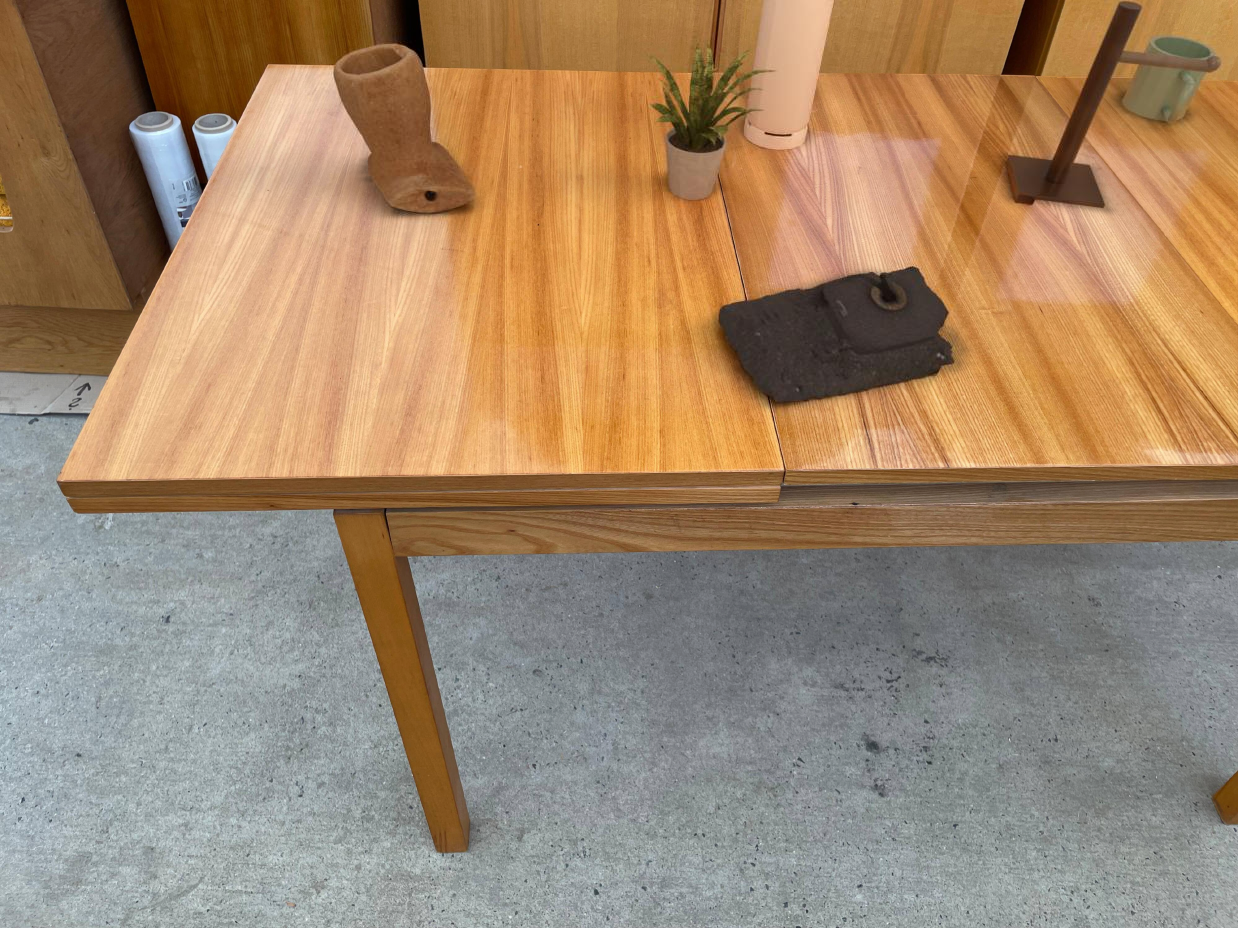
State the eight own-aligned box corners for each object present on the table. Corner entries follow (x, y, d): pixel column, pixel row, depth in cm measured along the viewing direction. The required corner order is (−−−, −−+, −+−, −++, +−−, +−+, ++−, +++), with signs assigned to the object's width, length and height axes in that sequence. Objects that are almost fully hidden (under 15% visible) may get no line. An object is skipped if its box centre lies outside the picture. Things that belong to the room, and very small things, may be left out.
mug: (1114, 97, 129) (1143, 33, 123) (1173, 104, 128) (1205, 39, 122) (1132, 134, 121) (1165, 68, 114) (1195, 142, 120) (1231, 75, 114)
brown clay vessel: (345, 166, 106) (320, 35, 95) (442, 151, 109) (429, 23, 98) (373, 231, 96) (349, 94, 85) (479, 212, 100) (468, 78, 89)
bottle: (730, 132, 116) (766, -117, 96) (772, 115, 120) (814, -127, 100) (776, 156, 112) (823, -98, 92) (818, 138, 116) (871, -109, 96)
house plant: (782, 210, 103) (810, 68, 91) (679, 235, 98) (695, 89, 86) (718, 155, 111) (736, 19, 100) (620, 176, 107) (627, 35, 95)
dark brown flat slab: (697, 314, 88) (702, 274, 85) (885, 278, 94) (897, 239, 91) (766, 414, 78) (775, 373, 75) (972, 366, 84) (989, 326, 81)
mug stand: (1139, 180, 112) (1230, 1, 97) (1158, 221, 105) (1259, 35, 90) (1005, 163, 113) (1073, -16, 98) (1015, 202, 107) (1090, 16, 91)
